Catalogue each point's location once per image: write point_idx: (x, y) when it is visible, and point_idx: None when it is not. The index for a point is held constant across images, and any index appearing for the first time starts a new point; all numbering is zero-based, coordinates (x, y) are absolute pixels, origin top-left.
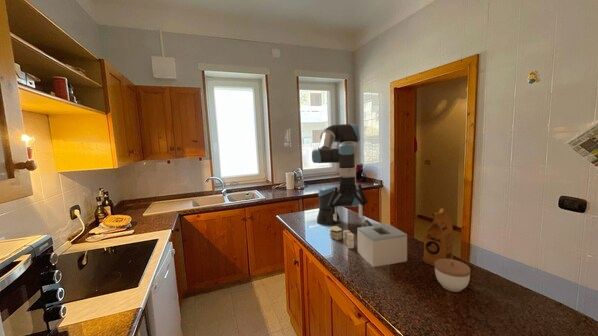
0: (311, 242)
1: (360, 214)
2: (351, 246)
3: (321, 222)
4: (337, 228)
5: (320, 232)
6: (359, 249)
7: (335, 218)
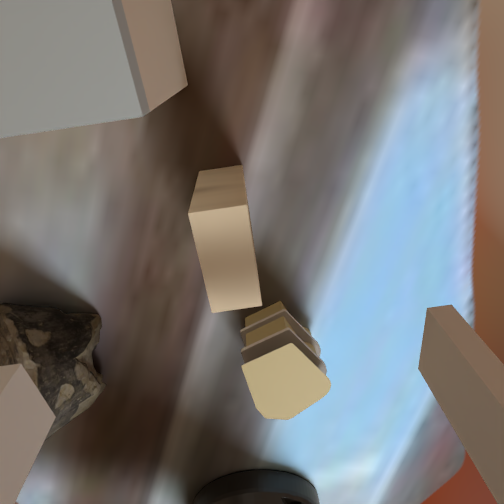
0: (450, 293)
1: (3, 427)
2: (217, 172)
3: (307, 493)
4: (271, 384)
5: (343, 404)
6: (174, 47)
7: (474, 334)
